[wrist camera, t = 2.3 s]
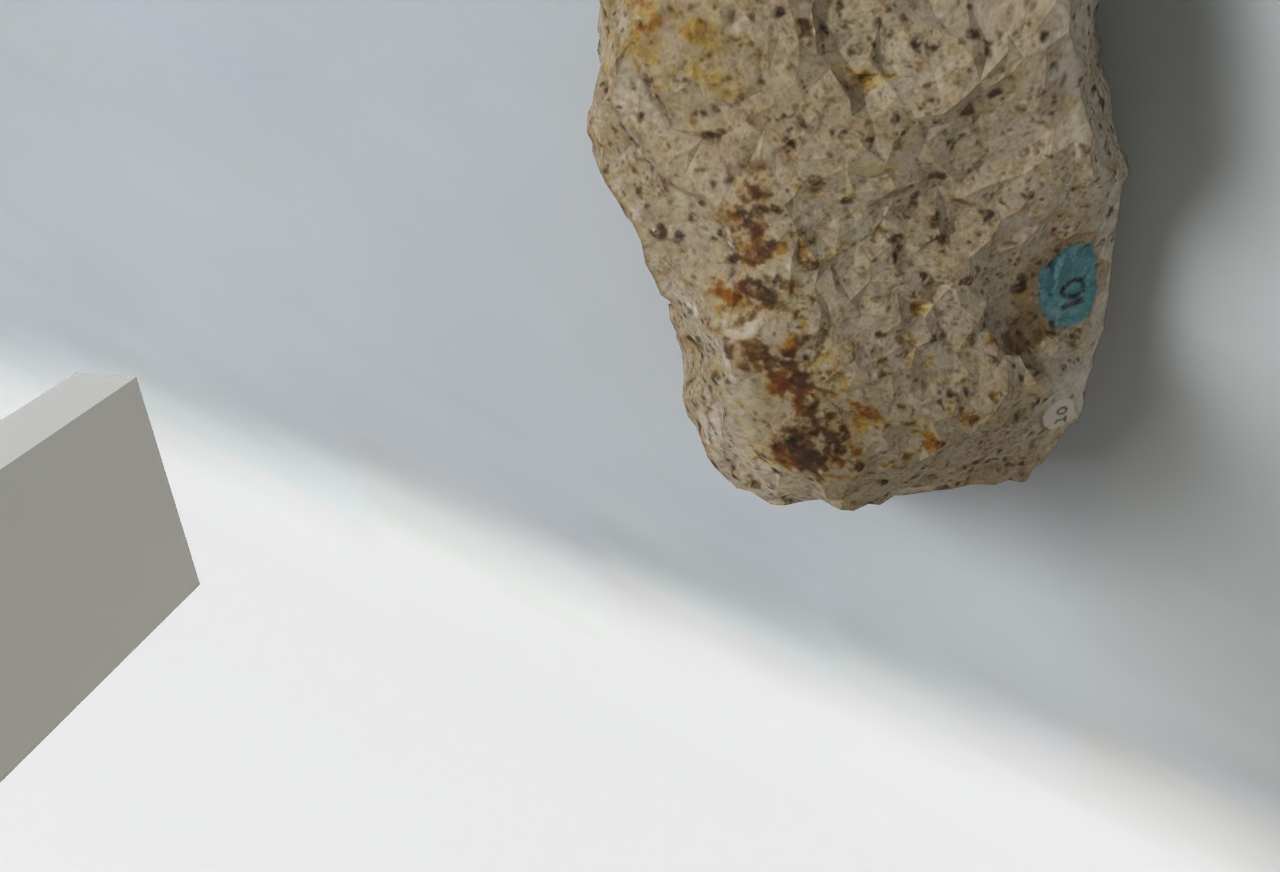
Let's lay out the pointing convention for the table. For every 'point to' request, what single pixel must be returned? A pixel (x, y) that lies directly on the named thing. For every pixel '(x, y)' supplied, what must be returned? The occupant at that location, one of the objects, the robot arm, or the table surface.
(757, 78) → the rock
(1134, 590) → the table surface
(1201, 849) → the table surface
